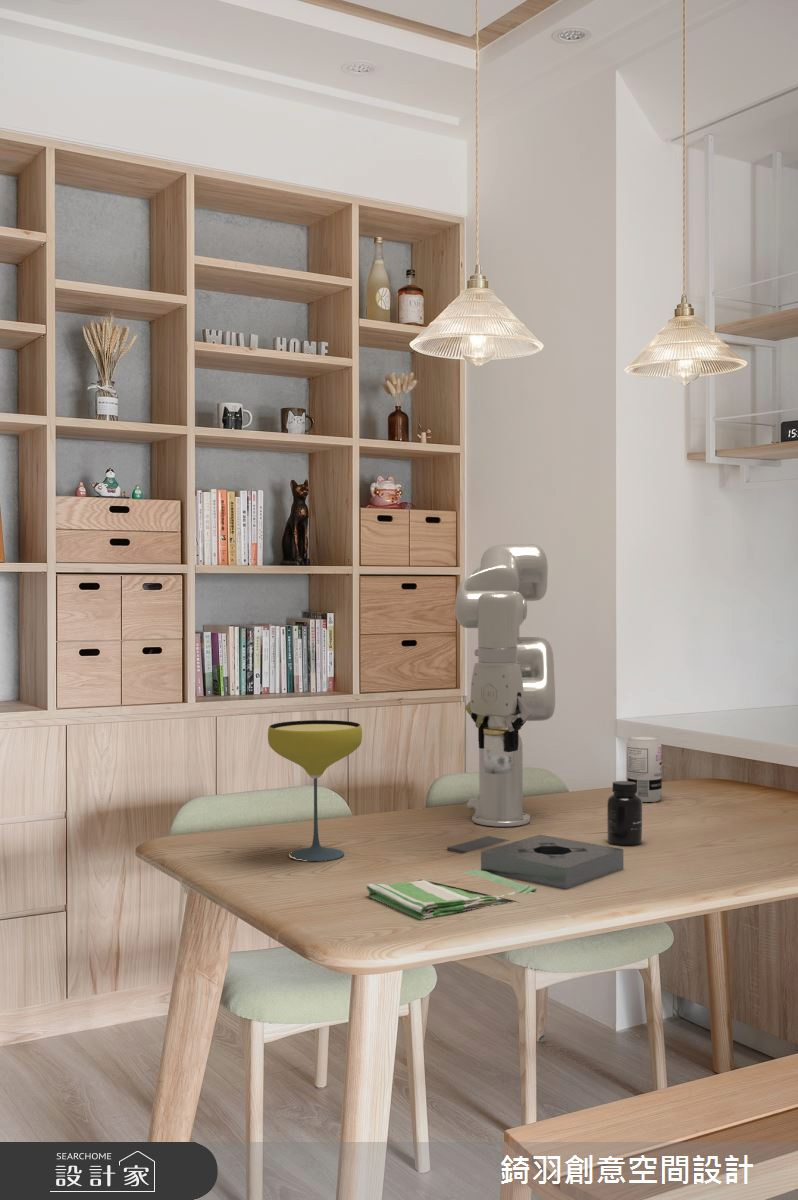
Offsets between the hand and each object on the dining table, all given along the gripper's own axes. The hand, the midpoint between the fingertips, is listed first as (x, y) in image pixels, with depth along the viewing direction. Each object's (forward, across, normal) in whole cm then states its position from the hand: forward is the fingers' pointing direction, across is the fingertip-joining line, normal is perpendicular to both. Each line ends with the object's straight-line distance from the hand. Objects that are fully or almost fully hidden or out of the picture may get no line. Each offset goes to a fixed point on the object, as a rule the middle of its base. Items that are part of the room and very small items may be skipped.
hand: (498, 748), depth 217 cm
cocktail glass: (+20, -25, -26) cm, 41 cm away
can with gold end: (+5, 0, 0) cm, 5 cm away
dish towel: (+20, +13, -31) cm, 39 cm away
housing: (+20, +19, -9) cm, 29 cm away
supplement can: (+22, -4, +64) cm, 68 cm away
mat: (+20, -1, 0) cm, 20 cm away
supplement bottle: (+20, +15, +22) cm, 33 cm away
